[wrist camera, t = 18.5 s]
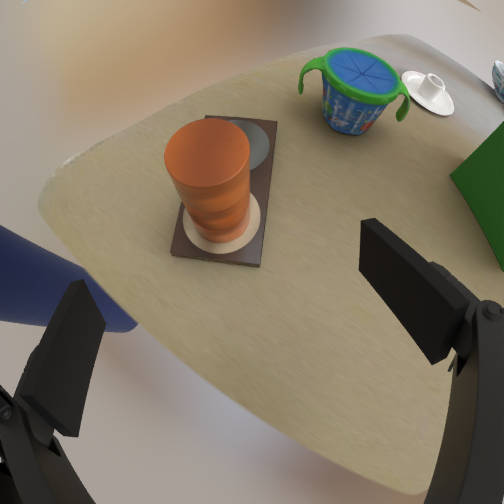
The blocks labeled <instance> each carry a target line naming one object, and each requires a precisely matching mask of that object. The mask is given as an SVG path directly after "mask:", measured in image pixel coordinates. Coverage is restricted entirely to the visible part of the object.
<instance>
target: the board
mask: <svg viewBox="0 0 504 504" xmlns="http://www.w3.org/2000/svg"><path fill="white" fill-rule="evenodd" d="M209 118H215V119H222V120H226V121H229V122H231V123H233V124H235V125H237V126H238V127H239V128H240V129H241V130H242V131H243V132H244V133H245V135H246V136H247V138H248V141H249V145H250V221H249V224H248V227H247V229H246V230H245V232H244V233H243V234H242V235H241V236H240V237H238V238H237V239H235V240H233V241H231V242H227V243H214V242H210V241H208V240H206V239H204V238H203V237H202V236H201V235H200V234H199V233H198V232H197V230H196V228H195V226H194V224H193V222H192V220H191V218H190V216H189V214H188V212H187V210H186V208H185V206H184V204H183V202H181V206H180V211H179V215H178V219H177V224H176V228H175V233H174V237H173V242H172V247H171V252H170V253H171V254H172V255H173V256H179V257H186V258H193V259H201V260H208V261H216V262H223V263H231V264H238V265H246V266H254V267H260V261H261V253H262V245H263V237H264V229H265V221H266V213H267V205H268V197H269V189H270V180H271V172H272V164H273V155H274V147H275V138H276V130H277V121H270V120H261V119H252V118H240V117H227V116H209V115H205V118H204V119H209Z"/></svg>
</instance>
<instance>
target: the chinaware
mask: <svg viewBox="0 0 504 504" xmlns="http://www.w3.org/2000/svg"><path fill="white" fill-rule="evenodd" d="M492 78H493V83H494V86H495V89H494V91H495V94H496V95H497V97H498V98H499V99H500V101H501V102H502V103H503V104H504V63H502V62H500V61H495V63H494V66H493V71H492Z"/></svg>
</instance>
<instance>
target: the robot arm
mask: <svg viewBox="0 0 504 504" xmlns="http://www.w3.org/2000/svg"><path fill="white" fill-rule="evenodd" d="M359 271H360V272H361V273H362V275H363V276H364V277H365V278H366V279H367V281H368V282H369V283H370V284H371V286H372V287H373V288H374V289H375V291H376V292H377V293H378V294H379V295H380V297H381V298H382V299H383V301H384V302H385V303H386V304H387V306H388V307H389V308H390V309H391V311H392V312H393V313H394V315H395V316H396V317H397V318H398V320H399V321H400V322H401V324H402V325H403V326H404V328H405V329H406V330H407V332H408V333H409V334H410V336H411V337H412V338H413V340H414V341H415V342H416V344H417V345H418V346H419V348H420V349H421V351H422V352H423V353H424V355H425V356H426V358H427V359H428V360H429V362H430V363H431V365H434V364H436V363H438V362H440V361H441V360H443V359H445V358H447V356H448V354H449V352H450V350H451V348H452V347H453V349H454V350H455V351H456V354H455V356H454V358H453V360H452V362H451V364H450V366H449V369H448V372H450V371H451V369H452V367H453V376H452V385H451V393H450V400H449V407H448V413H447V419H446V424H445V429H444V434H443V439H442V443H441V448H440V452H439V456H438V460H437V463H436V467H435V471H434V474H433V477H432V481H431V484H430V487H429V490H428V493H427V496H426V499H425V501H424V504H502V500H503V496H504V308H502V307H501V305H499V304H498V303H496V302H494V301H491V300H483V301H480V300H479V299H478V298H477V297H476V296H475V295H474V294H473V293H472V292H470V291H469V290H468V289H467V288H466V287H465V286H464V285H463V284H462V283H461V282H460V281H458V279H457V278H455V277H454V276H453V275H451V273H450V272H449V271H448V270H447V269H445V268H444V267H443V266H441V265H439V264H437V263H435V262H433V261H432V262H427V261H426V260H425V259H424V258H423V257H422V256H421V255H419V254H418V253H417V252H416V251H415V250H414V249H412V248H411V247H410V246H409V245H408V244H406V243H405V242H404V241H403V240H402V239H400V238H399V237H398V236H397V235H396V234H394V233H393V232H392V231H391V230H389V229H388V228H387V227H386V226H384V225H383V224H382V223H381V222H379V221H378V220H377V219H376V218H371V219H366V220H361V232H360V257H359ZM105 326H106V322H105V320H104V318H103V316H102V314H101V313H100V311H99V309H98V307H97V305H96V303H95V301H94V300H93V298H92V296H91V294H90V292H89V290H88V288H87V286H86V284H85V282H84V280H83V279H82V280H78V281H74V282H71V283H70V285H69V286H68V288H67V290H66V292H65V293H64V295H63V297H62V299H61V301H60V303H59V305H58V306H57V308H56V310H55V312H54V314H53V316H52V318H51V320H50V322H49V324H48V326H47V328H46V330H45V332H44V334H43V337H42V339H41V341H40V343H39V345H38V346H37V347H36V348H35V349H34V350H33V352H32V353H31V354H30V357H29V359H28V361H27V365H26V366H25V368H24V373H22V376H21V379H20V381H19V383H18V386H17V388H16V391H15V394H14V397H13V398H12V397H11V396H10V395H9V394H8V392H7V391H6V390H5V389H4V388H3V387H2V386H1V385H0V457H1V460H2V462H1V463H0V504H96V503H95V502H94V501H93V499H92V498H91V496H90V495H89V493H88V492H87V490H86V488H85V487H84V485H83V484H82V482H81V481H80V479H79V477H78V476H77V474H76V472H75V471H74V469H73V467H72V466H71V464H70V462H69V460H68V458H67V456H66V454H65V453H64V451H63V449H62V447H61V445H60V443H59V441H58V439H57V438H56V437H55V436H54V435H53V433H54V429H56V430H57V431H58V432H59V433H60V434H62V435H63V436H68V437H78V436H79V429H80V425H81V420H82V414H83V410H84V405H85V400H86V396H87V392H88V387H89V383H90V379H91V375H92V371H93V367H94V364H95V360H96V356H97V353H98V349H99V346H100V342H101V339H102V336H103V332H104V329H105Z"/></svg>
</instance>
